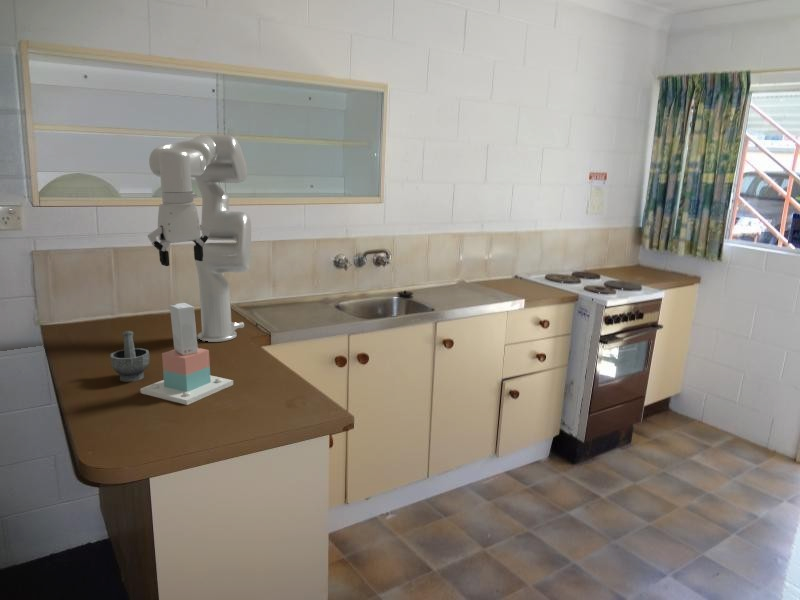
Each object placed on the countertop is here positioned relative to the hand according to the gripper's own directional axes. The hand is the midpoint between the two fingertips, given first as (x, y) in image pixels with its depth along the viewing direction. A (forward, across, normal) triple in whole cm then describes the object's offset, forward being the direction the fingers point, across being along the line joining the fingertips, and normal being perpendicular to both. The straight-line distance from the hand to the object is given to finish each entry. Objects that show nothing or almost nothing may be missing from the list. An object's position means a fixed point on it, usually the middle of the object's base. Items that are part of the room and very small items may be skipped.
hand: (182, 262), depth 164 cm
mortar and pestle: (+31, +14, -6) cm, 34 cm away
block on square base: (+30, +8, +13) cm, 34 cm away
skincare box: (+20, +8, +12) cm, 25 cm away
